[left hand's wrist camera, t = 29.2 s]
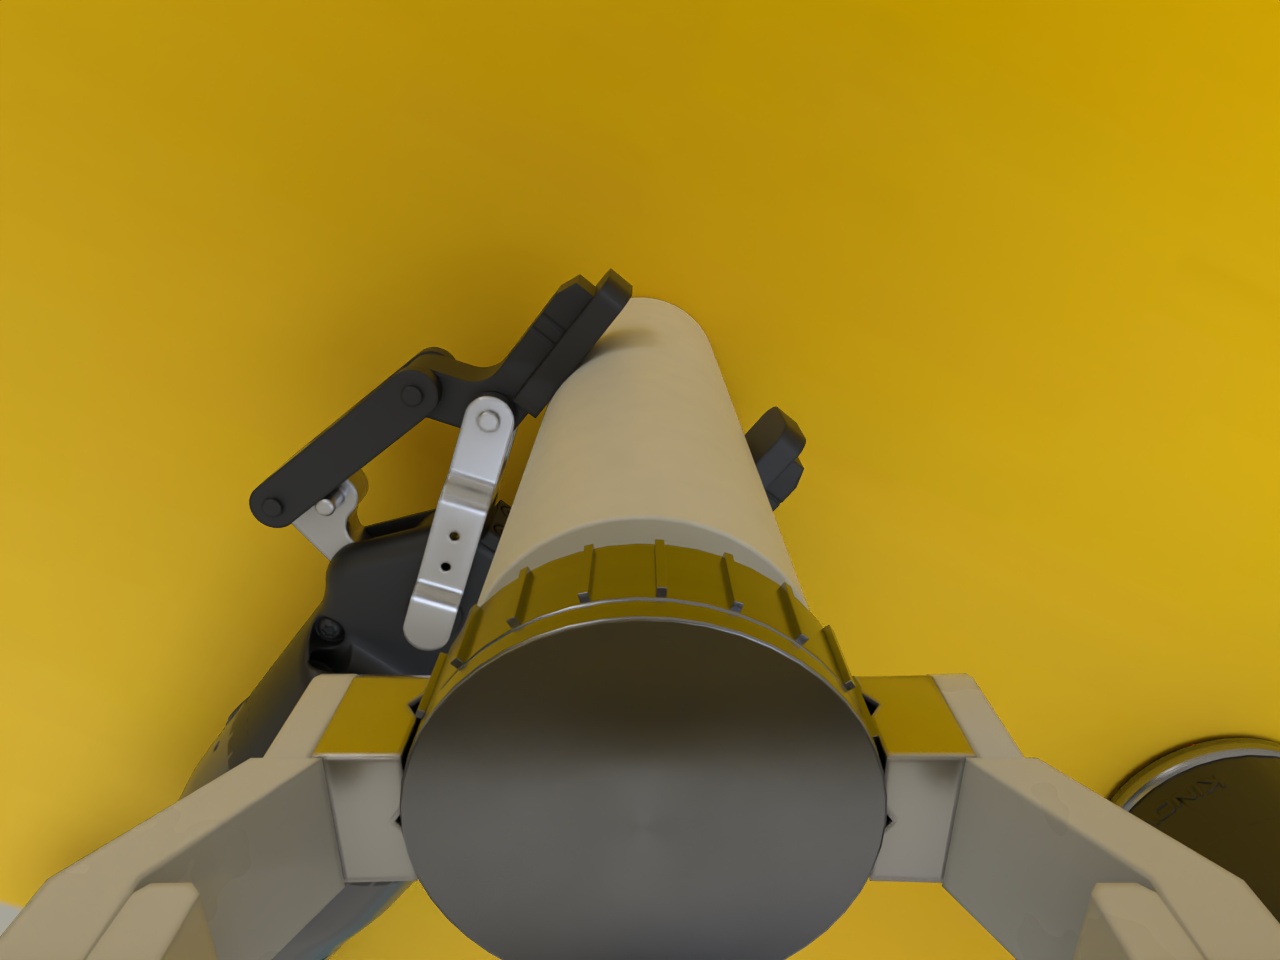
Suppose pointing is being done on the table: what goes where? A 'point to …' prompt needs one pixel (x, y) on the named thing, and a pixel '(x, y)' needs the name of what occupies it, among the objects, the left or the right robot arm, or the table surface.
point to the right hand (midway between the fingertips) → (705, 356)
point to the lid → (643, 765)
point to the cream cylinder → (642, 457)
